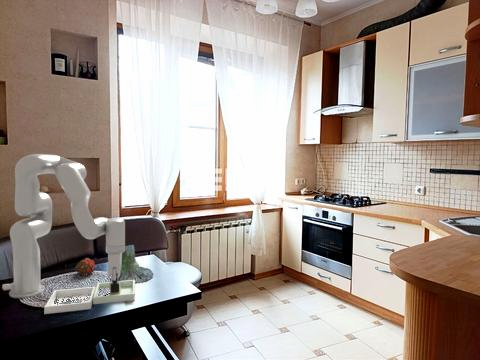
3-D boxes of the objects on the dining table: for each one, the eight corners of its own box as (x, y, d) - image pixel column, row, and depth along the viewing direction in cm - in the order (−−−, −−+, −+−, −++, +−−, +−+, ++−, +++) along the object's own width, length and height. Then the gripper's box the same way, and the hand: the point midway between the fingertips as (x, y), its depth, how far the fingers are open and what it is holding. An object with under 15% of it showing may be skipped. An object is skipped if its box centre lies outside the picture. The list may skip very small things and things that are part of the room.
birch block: (110, 295, 133) (109, 286, 133) (111, 291, 137) (109, 282, 136) (120, 293, 134) (119, 284, 134) (120, 289, 138) (119, 280, 138)
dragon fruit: (85, 281, 153) (83, 277, 163) (100, 268, 157) (97, 265, 167) (73, 268, 151) (71, 264, 161) (88, 256, 155) (86, 253, 165)
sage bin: (93, 305, 126) (93, 297, 125) (97, 289, 141) (97, 282, 140) (134, 300, 130) (134, 293, 130) (134, 286, 145) (134, 279, 145)
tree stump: (130, 288, 144) (123, 249, 144) (105, 288, 155) (98, 252, 155) (161, 275, 159) (154, 239, 159) (136, 275, 170) (130, 242, 171)
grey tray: (44, 315, 117) (44, 307, 117) (54, 297, 132) (54, 290, 132) (90, 309, 122) (90, 302, 122) (95, 293, 137) (95, 286, 136)
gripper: (107, 243, 141) (107, 283, 142) (103, 254, 125) (103, 299, 126) (125, 242, 143) (125, 282, 144) (124, 253, 127) (123, 297, 129)
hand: (115, 289), depth 135 cm, fingers closed on birch block, 4 cm apart
